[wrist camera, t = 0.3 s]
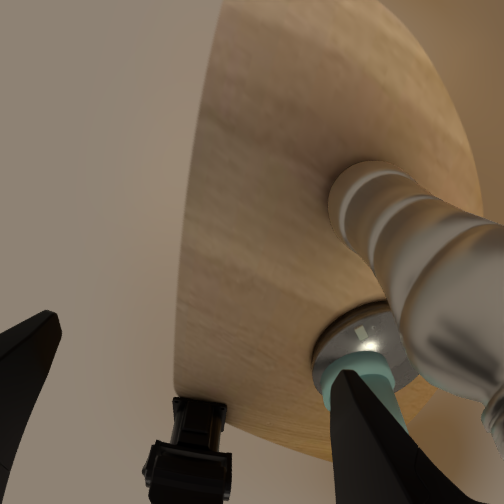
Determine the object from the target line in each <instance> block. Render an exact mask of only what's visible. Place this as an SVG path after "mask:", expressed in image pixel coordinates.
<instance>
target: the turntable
mask: <svg viewBox="0 0 504 504" xmlns="http://www.w3.org/2000/svg"><path fill="white" fill-rule="evenodd" d="M358 351H374V352H377V353H380V354H381V355H383V356H384V357H385V358H386V360H387V363H388V365H389V367H390V370H391V372H392V375H393V377H394V380H395V386H394V389H393V392H394V393H395V392H397V391H398V390H400V389H402V388H403V387H405V386H406V385H407V384H409V383H410V382H411V381H412V380H414V379H415V378H416V377H417V376H418V375H419V373H418V372H417V371H416V370H415V369H414V368H413V367H412V366H411V364H410V362H409V360H408V357H407V355H406V352H405V349H404V347H403V345H402V343H401V340H400V336H399V333H398V330H397V327H396V324H395V321H394V318H393V315H392V312H391V309H390V306H388V307H381V308H376V309H373V310H370V311H366V312H364V313H361V314H359V315H357V316H355V317H353V318H351V319H349V320H347V321H346V322H344V323H343V324H341V325H340V326H338V327H337V328H336V329H335V330H333V331H332V332H331V333H330V334H329V335H328V336H327V337H326V338H325V339H324V341H323V342H322V343H321V344H320V346H319V347H318V349H317V351H316V353H315V355H314V358H313V361H312V376H313V382H314V385H315V387H316V389H317V390H318V391H319V393H320V394H321V395H322V389H321V384H320V380H321V376H322V374H323V372H324V371H325V369H326V368H327V367H328V366H329V365H330V364H331V363H333V362H334V361H335V360H337V359H339V358H341V357H343V356H345V355H348V354H350V353H354V352H358Z"/></svg>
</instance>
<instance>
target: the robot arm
mask: <svg viewBox="0 0 504 504" xmlns="http://www.w3.org/2000/svg"><path fill="white" fill-rule="evenodd" d="M61 336H62V330H61V327H60V323H59V319H58V315H57V314H56V313H55V312H52V311H49V310H44V311H42V312H40V313H38V314H36V315H34V316H32V317H31V318H29V319H27V320H25V321H23V322H21V323H19V324H17V325H16V326H14V327H12V328H10V329H8V330H6V331H4V332H2V333H1V334H0V504H2V500H3V496H4V493H5V489H6V485H7V482H8V478H9V475H10V471H11V468H12V465H13V461H14V458H15V455H16V452H17V449H18V447H19V443H20V441H21V438H22V435H23V433H24V430H25V427H26V425H27V422H28V420H29V417H30V415H31V412H32V410H33V407H34V405H35V403H36V400H37V398H38V396H39V393H40V391H41V389H42V386H43V384H44V382H45V380H46V378H47V375H48V373H49V370H50V367H51V364H52V361H53V359H54V356H55V353H56V351H57V348H58V345H59V342H60V340H61ZM172 402H173V412H174V427H173V431H172V436H171V441H170V443H165V442H161V441H159V440H156V442H155V445H152V446H151V450H150V454H149V457H148V459H147V461H146V463H145V465H144V467H143V469H142V474H143V475H144V477H145V481H146V487H149V488H150V489H149V494H148V497H149V500H150V502H151V504H223V501H228V500H229V497H230V492H231V482H232V453H222V452H219V443H220V434H221V432H223V431H224V424H225V418H226V412H227V406H226V405H225V404H218V403H211V402H204V401H197V400H191V399H185V398H179V397H174V398H173V401H172ZM330 437H331V447H332V458H333V469H334V481H335V493H336V494H335V495H336V504H487V503H482V502H478V501H475V500H473V499H471V498H469V497H468V496H466V495H465V494H464V493H463V492H462V491H461V490H460V489H459V488H458V487H457V486H456V485H455V484H453V483H452V482H451V481H450V480H449V479H448V478H447V477H446V476H445V475H444V474H443V473H442V472H441V471H440V470H439V469H438V468H437V467H436V466H435V465H434V464H433V463H432V462H431V460H430V459H429V458H428V457H427V456H426V455H425V453H424V452H423V451H422V450H421V449H420V448H418V445H417V444H416V443H415V442H414V440H413V439H412V438H411V437H410V436H409V434H408V433H407V432H406V431H405V430H404V428H403V427H402V426H401V425H400V424H399V422H398V421H397V420H396V419H395V418H394V416H393V415H392V414H391V413H390V412H389V410H388V409H387V408H386V407H385V406H384V404H383V403H382V402H381V401H380V400H379V398H378V397H377V396H376V395H375V394H374V393H373V391H372V390H371V389H370V388H369V387H368V385H367V384H366V383H365V382H364V381H363V379H362V378H361V377H360V376H359V375H358V373H357V372H356V371H354V370H351V369H342V370H341V371H340V372H339V374H338V375H337V377H336V379H335V380H334V382H333V384H332V386H331V390H330Z"/></svg>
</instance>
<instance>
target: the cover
mask: <svg viewBox="0 0 504 504" xmlns="http://www.w3.org/2000/svg"><path fill="white" fill-rule="evenodd" d="M342 369H351V370H354V371H356V372H357V373H358V375H359V376H360V377H361V378H362V379H363V381H364V382H365V383H366V384H367V385H368V387H369V388H370V389H371V390H372V391H373V393H374V394H375V395H376V396H377V397H378V398H379V400H380V401H381V402H382V403H383V404H384V406H385V407H386V408H387V409H388V410H389V412H390V413H391V414H392V415H393V416H394V418H395V419H396V420H397V421H398V422H399V424H400V425H401V426H402V427H403V428H404V430H405V431H406V432H407V433H408V431H407V428H406V425H405V422H404V419H403V416H402V413H401V411H400V408H399V405H398V402H397V400H396V397H395V394H394V392H393V389H394V386H395V380H394V377H393V375H392V372H391V370H390V367H389V365H388V363H387V360H386V358H385V357H384V356H383V355H381V354H380V353H377V352H374V351H358V352H354V353H350V354H348V355H345V356H343V357H341V358H339V359H337V360H335V361H334V362H333V363H331V364H330V365H329V366H328V367H327V368H326V369H325V371H324V372H323V374H322V376H321V380H320V384H321V389H322V395H323V400H324V405H325V407H326V408H327V409H328V410H329V411H330V390H331V386H332V384H333V382H334V380H335V379H336V377H337V375H338V374H339V372H340V371H341V370H342ZM408 434H409V433H408Z"/></svg>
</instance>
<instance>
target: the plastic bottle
mask: <svg viewBox="0 0 504 504" xmlns="http://www.w3.org/2000/svg"><path fill="white" fill-rule="evenodd" d="M328 214H329V219H330V223H331V226H332V229H333V231H334V232H335V234H336V236H337V237H338V238H339V239H340V240H341V241H342V242H343V243H344V244H345V245H346V246H347V247H348V248H349V249H351V250H352V251H354V252H355V253H357V254H358V255H359V256H360V257H361V258H362V259H363V260H364V261H365V263H366V264H367V265H368V266H369V267H370V268H371V269H372V271H373V273H374V275H375V277H376V279H377V280H378V282H379V284H380V286H381V288H382V290H383V292H384V293H385V295H386V298H387V300H388V303H389V306H390V309H391V312H392V315H393V318H394V321H395V324H396V327H397V330H398V333H399V336H400V340H401V343H402V345H403V347H404V349H405V352H406V355H407V357H408V360H409V362H410V364H411V366H412V367H413V368H414V369H415V370H416V371H417V372H418V373H419V374H420V375H421V376H422V377H423V378H424V379H425V380H427V381H428V382H429V383H430V384H431V385H433V386H435V387H438V388H440V389H442V390H444V391H447V392H449V393H451V394H454V395H456V396H459V397H462V398H466V399H470V400H473V401H477V402H481V403H482V404H483V405H484V406H485V409H484V411H483V413H482V416H481V421H482V423H483V425H484V428H485V430H486V431H487V432H488V433H491V435H492V437H493V439H494V441H495V444H496V446H497V449H498V451H499V454H500V456H501V458H502V459H503V460H504V226H503V225H501V224H498V223H495V222H492V221H490V220H487V219H485V218H482V217H479V216H477V215H474V214H471V213H468V212H465V211H463V210H461V209H459V208H457V207H455V206H453V205H451V204H449V203H447V202H444V201H443V200H441V199H439V198H437V197H435V196H433V195H432V194H431V193H429V192H428V191H427V190H425V189H424V188H423V187H421V186H420V185H419V184H418V183H417V182H416V181H415V180H414V179H413V178H412V177H411V176H410V175H409V174H408V173H406V172H405V171H404V170H403V169H401V168H400V167H398V166H396V165H394V164H392V163H389V162H385V161H364V162H360V163H357V164H354V165H352V166H351V167H349V168H347V169H346V170H345V171H344V172H342V173H341V174H340V175H339V177H338V178H337V179H336V180H335V182H334V184H333V186H332V188H331V190H330V193H329V197H328Z"/></svg>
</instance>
